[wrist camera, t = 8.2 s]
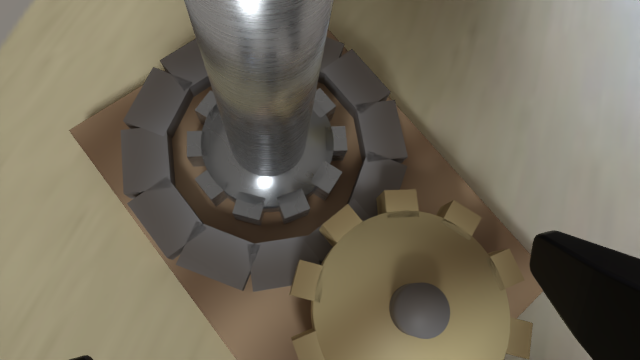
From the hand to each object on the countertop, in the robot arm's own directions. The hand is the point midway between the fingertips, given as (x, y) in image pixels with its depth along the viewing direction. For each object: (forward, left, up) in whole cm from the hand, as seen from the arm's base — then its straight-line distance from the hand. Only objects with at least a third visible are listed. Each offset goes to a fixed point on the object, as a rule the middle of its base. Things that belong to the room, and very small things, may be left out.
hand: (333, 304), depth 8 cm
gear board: (+3, -3, -12) cm, 13 cm away
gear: (+6, -3, -11) cm, 13 cm away
